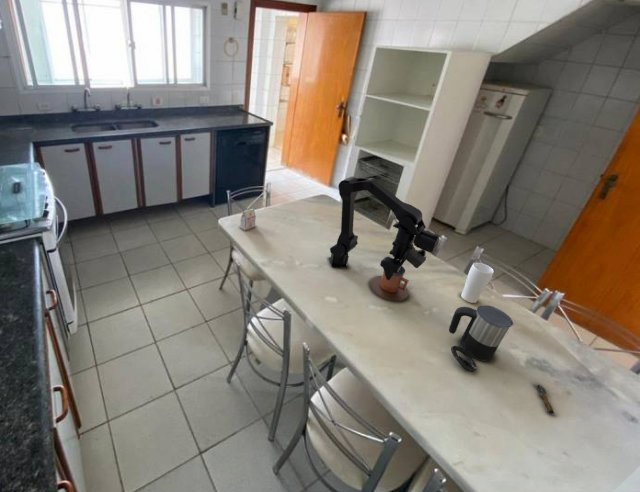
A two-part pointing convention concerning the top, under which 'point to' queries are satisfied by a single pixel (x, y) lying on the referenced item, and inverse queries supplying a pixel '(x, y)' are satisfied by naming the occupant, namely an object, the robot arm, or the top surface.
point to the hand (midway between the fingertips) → (392, 274)
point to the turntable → (384, 294)
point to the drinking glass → (476, 282)
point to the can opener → (545, 398)
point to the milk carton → (248, 219)
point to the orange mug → (394, 281)
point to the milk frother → (479, 333)
